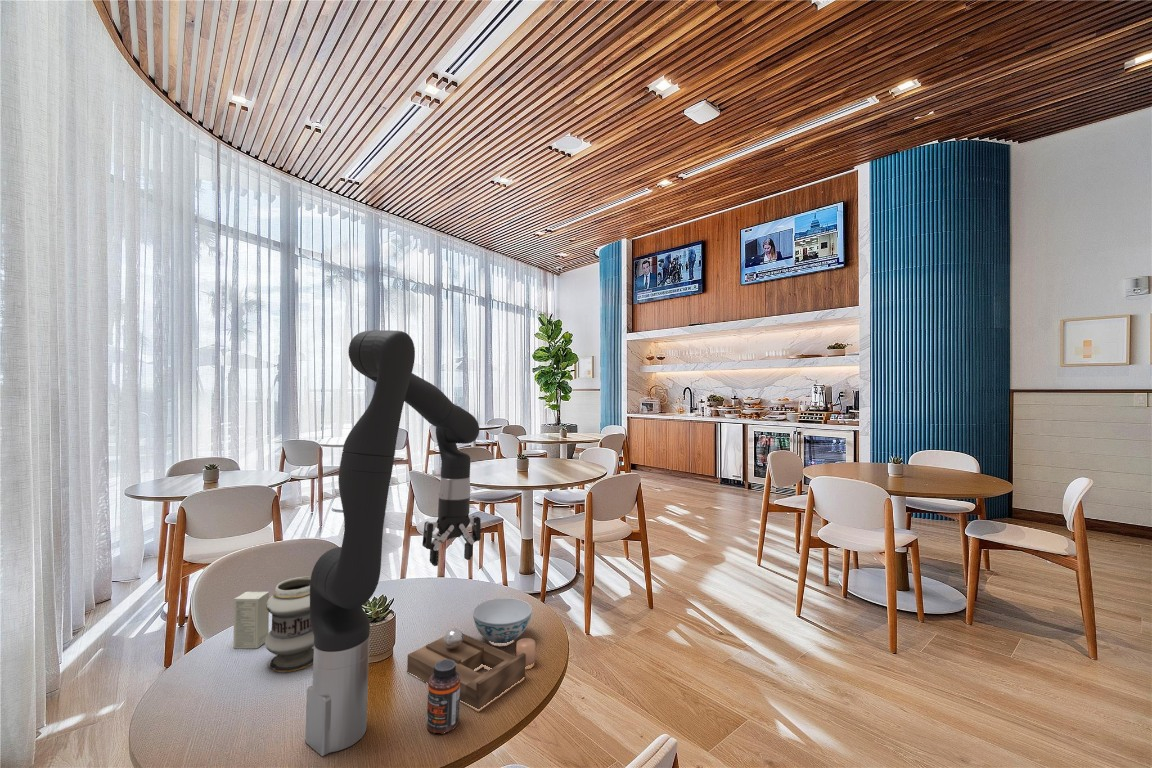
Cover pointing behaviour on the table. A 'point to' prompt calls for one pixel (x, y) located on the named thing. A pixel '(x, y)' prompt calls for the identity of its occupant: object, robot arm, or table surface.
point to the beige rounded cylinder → (526, 649)
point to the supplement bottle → (443, 697)
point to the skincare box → (251, 619)
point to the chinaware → (502, 619)
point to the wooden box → (471, 668)
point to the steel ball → (453, 638)
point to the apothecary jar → (290, 626)
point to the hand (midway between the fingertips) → (451, 562)
